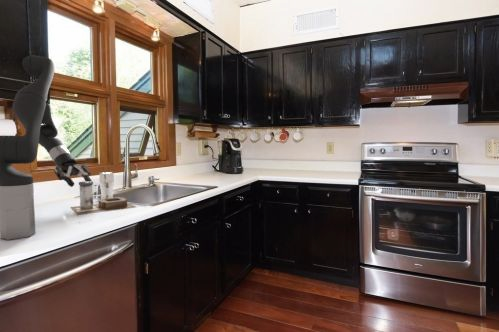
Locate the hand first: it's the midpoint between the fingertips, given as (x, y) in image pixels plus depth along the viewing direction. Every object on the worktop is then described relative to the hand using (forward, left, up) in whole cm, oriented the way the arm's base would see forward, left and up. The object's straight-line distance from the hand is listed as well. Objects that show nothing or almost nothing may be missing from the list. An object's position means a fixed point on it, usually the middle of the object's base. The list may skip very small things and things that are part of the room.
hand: (81, 184), depth 127 cm
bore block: (-2, -8, -13) cm, 15 cm away
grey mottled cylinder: (-2, -1, -11) cm, 11 cm away
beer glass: (+21, -15, -13) cm, 29 cm away
